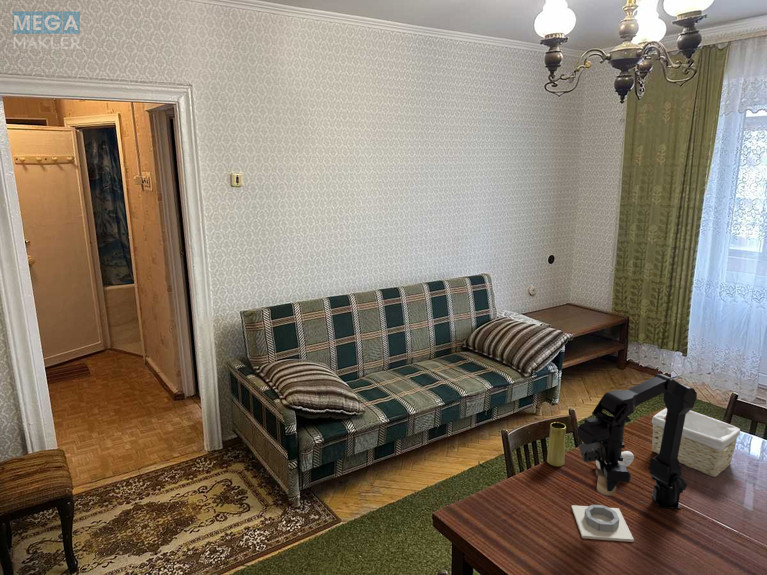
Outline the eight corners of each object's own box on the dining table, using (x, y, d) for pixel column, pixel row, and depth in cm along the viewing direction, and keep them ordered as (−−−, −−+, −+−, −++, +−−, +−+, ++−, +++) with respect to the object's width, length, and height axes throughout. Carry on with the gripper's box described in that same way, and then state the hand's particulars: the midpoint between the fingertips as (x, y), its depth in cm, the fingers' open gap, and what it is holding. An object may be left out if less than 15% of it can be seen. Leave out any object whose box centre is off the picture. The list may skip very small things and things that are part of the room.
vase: (565, 467, 188) (568, 430, 185) (547, 465, 189) (549, 428, 186) (563, 458, 194) (566, 422, 190) (545, 456, 195) (548, 420, 192)
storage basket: (736, 465, 188) (743, 427, 185) (717, 482, 179) (723, 441, 175) (667, 438, 207) (671, 403, 204) (646, 452, 197) (650, 415, 194)
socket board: (618, 510, 165) (619, 501, 164) (633, 541, 151) (634, 532, 150) (571, 507, 166) (572, 498, 166) (582, 538, 153) (582, 528, 152)
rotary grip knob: (614, 486, 159) (617, 467, 157) (620, 496, 154) (622, 476, 152) (592, 484, 159) (594, 465, 158) (596, 494, 154) (598, 475, 153)
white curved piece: (586, 470, 186) (588, 447, 184) (605, 458, 193) (607, 436, 191) (618, 485, 177) (620, 461, 175) (636, 472, 185) (638, 448, 183)
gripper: (575, 419, 163) (571, 466, 166) (591, 451, 145) (585, 502, 148) (613, 422, 161) (608, 468, 165) (634, 454, 143) (627, 506, 147)
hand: (606, 485), depth 156 cm, fingers closed on rotary grip knob, 5 cm apart
